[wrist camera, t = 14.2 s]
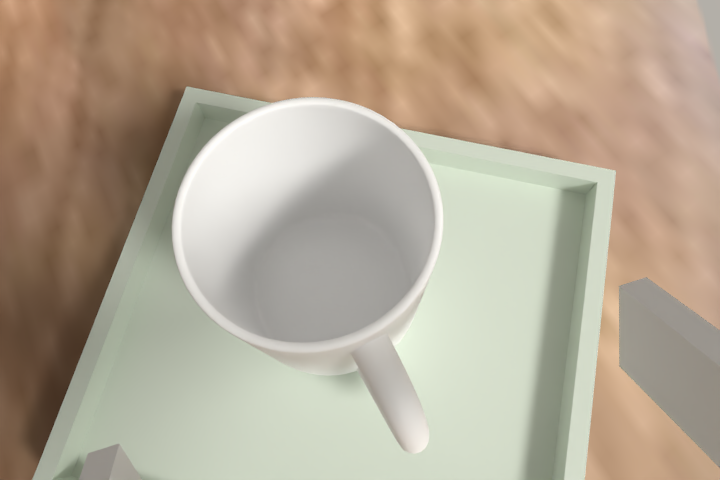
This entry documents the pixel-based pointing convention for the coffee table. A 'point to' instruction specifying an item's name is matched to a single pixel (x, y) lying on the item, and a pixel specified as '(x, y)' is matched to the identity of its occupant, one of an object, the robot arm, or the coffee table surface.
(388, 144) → the cup
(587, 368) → the sage tray
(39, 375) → the coffee table surface
